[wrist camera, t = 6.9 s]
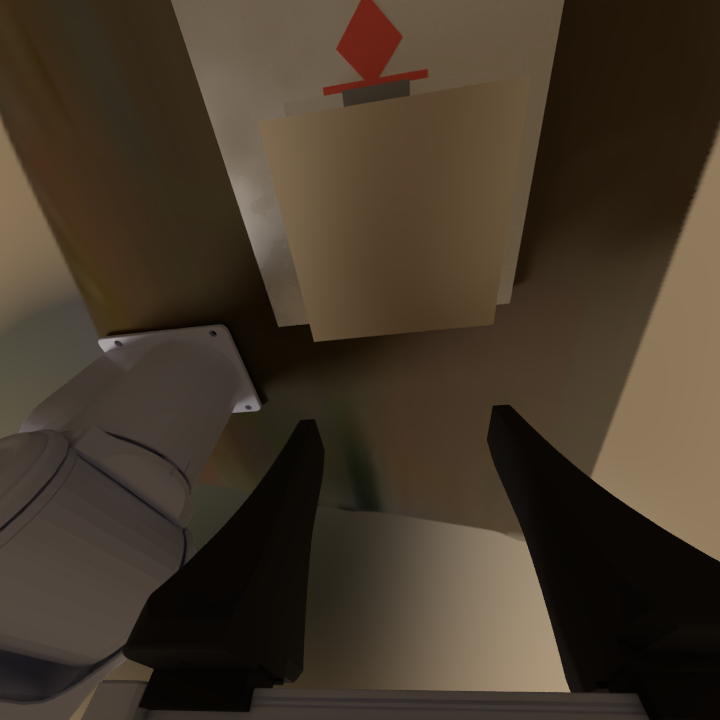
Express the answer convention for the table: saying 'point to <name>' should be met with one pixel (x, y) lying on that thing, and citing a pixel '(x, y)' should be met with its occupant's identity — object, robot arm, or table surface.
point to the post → (400, 207)
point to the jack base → (354, 87)
